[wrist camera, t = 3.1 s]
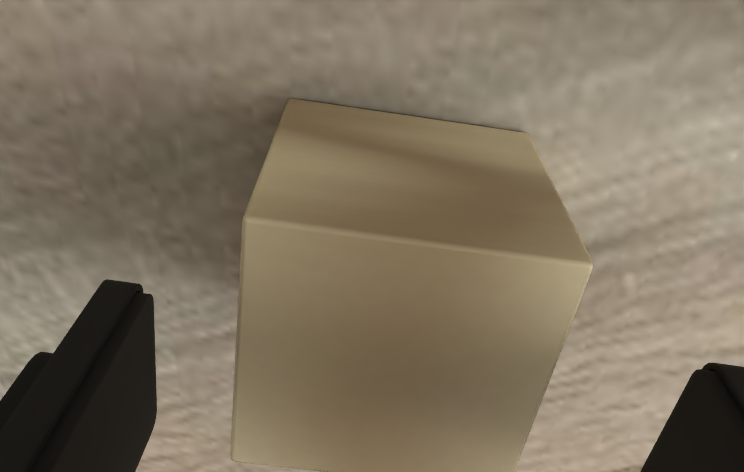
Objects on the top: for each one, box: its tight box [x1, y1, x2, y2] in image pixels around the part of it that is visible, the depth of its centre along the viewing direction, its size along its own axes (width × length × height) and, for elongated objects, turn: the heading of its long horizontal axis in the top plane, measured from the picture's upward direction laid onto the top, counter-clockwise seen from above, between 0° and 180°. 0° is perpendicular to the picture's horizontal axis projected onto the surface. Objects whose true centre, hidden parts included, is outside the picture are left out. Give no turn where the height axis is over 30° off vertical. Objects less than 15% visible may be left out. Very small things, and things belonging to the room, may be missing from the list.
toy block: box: [230, 99, 593, 472], centre depth 14 cm, size 6×6×6 cm
